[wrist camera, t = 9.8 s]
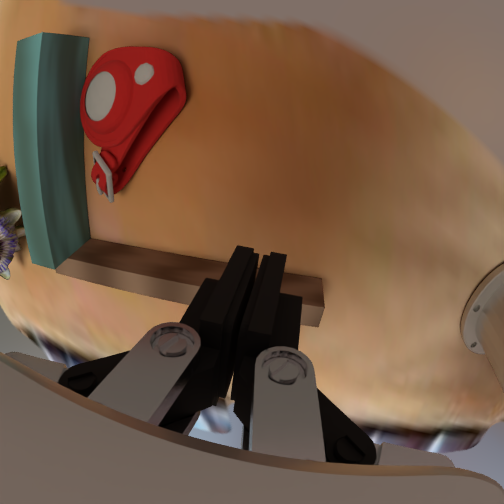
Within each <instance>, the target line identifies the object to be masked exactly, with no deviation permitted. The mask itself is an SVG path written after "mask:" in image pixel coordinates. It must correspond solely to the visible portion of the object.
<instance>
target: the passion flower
mask: <svg viewBox="0 0 504 504" xmlns="http://www.w3.org/2000/svg"><path fill="white" fill-rule="evenodd" d="M6 175H7V167H6V166H2V167H0V183H1V182H2V180H3V179H4V178H5V177H6ZM21 215H22V212H21V210H20V209H19V208H15V207H12V208H9V209H6V210H5V211H0V276H2V277H3V278H4V279H7V280H9V278H10V270H9V268H8V265H9V263H10V262H11V261H12V259H13V257H14V256H13V253H14V252H17V251H20V250H21V249H22V247H21V246H20V243H19V242H18V241H19V240H18V239H19V238H20V237H24V236H26V234H25V229H24V226H21V225H18V226H14V224H15V223H16V222H17V221H18V220H19V219H20V217H21Z"/></svg>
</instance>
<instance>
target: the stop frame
mask: <svg viewBox="0 0 504 504" xmlns="http://www.w3.org/2000/svg"><path fill="white" fill-rule="evenodd" d="M88 45H89V38H87V37H80V36H72V35H64V34H55V33H44V32H42V33H39V34H36V35H33V36H30V37H28V38H25V39H22V40H20V41H17V49H16V58H15V69H14V85H13V138H14V155H15V167H16V177H17V185H18V193H19V200H20V206H21V212H22V218H23V224H24V229H25V234H26V239H27V243H28V248H29V252H30V256H31V260H32V263H33V264H37V265H40V266H44V267H47V268H51V269H54V270H55V269H56V273H59V274H62V275H66V276H70V277H73V278H77V279H81V280H85V281H88V282H92V283H96V284H100V285H104V286H108V287H112V288H116V289H120V290H124V291H128V292H133V293H137V294H141V295H145V296H150V297H154V298H159V299H163V300H168V301H173V302H177V303H182V304H187V305H190V303H191V302H192V300H193V298H194V296H195V295H196V293H197V291H198V290H199V288H200V286H201V285H202V283H203V281H204V280H205V278H212V279H216V280H220V278H221V276H222V274H223V272H224V270H225V268H226V266H227V264H228V263H224V262H218V261H212V260H207V259H201V258H195V257H189V256H184V255H178V254H172V253H167V252H161V251H156V250H150V249H145V248H139V247H134V246H128V245H123V244H118V243H112V242H107V241H101V240H96V239H91V237H90V229H89V220H88V211H87V200H86V187H85V170H84V129H83V126H82V122H81V116H80V99H81V93H82V89H83V86H84V83H85V76H86V64H87V54H88ZM258 271H259V268H257V273H256V277H257V274H258ZM255 280H256V279H255ZM280 293H286V294H291V295H296V296H301V297H303V300H302V312H301V323H300V325H306V326H313V327H319V324H320V321H321V318H322V314H323V311H324V308H325V306H324V295H323V285H322V279H320V278H314V277H308V276H302V275H295V274H289V273H283V278H282V284H281V289H280Z"/></svg>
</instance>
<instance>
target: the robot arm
mask: <svg viewBox="0 0 504 504" xmlns="http://www.w3.org/2000/svg"><path fill="white" fill-rule="evenodd" d="M286 257H287V255H285V254H280V253H275V252H271V253H270V256H268V255H264V256H263V259H262V262H261V265H260V268H259V271H258V274H257V277H256V273H257V266H258V259H259V254H257V253H254V248H249V247H243V246H238V245H237V247H236V249H235V251H234V253H233V254H232V256H231V258H230V260H229V262H228V264H227V266H226V268H225V270H224V272H223V274H222V276H221V278H220V280H216V279H212V278H205V280H204V281H203V283H202V285H201V286H200V288H199V290H198V291H197V293H196V295H195V296H194V298H193V300H192V302H191V303H190V305H189V307H188V309H187V310H186V312H185V314H184V315H183V317H182V319H181V321H180V322H179V323H177V322H168V323H162V324H159V325H157V326H154V327H153V328H152V329H151V330H149V331H148V332H147V333H146V334H145V335H144V336H143V338H142V339H141V340H140V341H139V342H138V343H137V344H136V345H135V346H134V347H133V348H132V349H131V350H130V351H126V352H123V353H119V354H115V355H112V356H108V357H104V358H100V359H97V360H93V361H89V362H85V363H81V364H77V365H75V366H72V367H70V368H67V367H66V365H65V364H62V363H58V362H54V361H50V360H45V359H41V358H37V357H34V356H30V355H26V354H22V353H19V352H9V353H6V354H3V353H1V352H0V504H504V489H503V488H502V486H500V484H498V483H497V482H496V481H495V480H493V479H491V478H489V477H487V476H485V475H483V474H479V473H476V472H472V471H469V470H465V469H460V468H455V466H454V464H453V463H452V461H451V460H450V459H449V458H447V457H446V456H444V455H441V454H437V453H432V452H427V451H421V450H416V449H412V448H407V447H402V446H398V445H394V444H390V443H385V442H383V443H382V444H381V445H379V444H375V443H373V441H372V440H371V439H370V437H369V436H368V435H367V434H366V433H365V432H363V431H362V430H361V429H360V428H359V427H358V426H357V425H356V424H355V423H354V422H353V421H351V420H350V419H349V418H348V417H347V416H346V415H345V414H344V413H343V412H342V411H341V410H340V409H339V408H338V407H336V406H335V405H334V404H333V403H332V402H331V401H330V400H329V399H328V398H327V397H326V396H325V395H324V394H323V393H322V392H321V391H320V390H319V389H318V388H317V386H316V379H315V372H314V367H313V364H312V362H311V361H310V359H309V358H308V357H307V356H306V355H305V354H303V353H302V352H301V351H298V344H299V334H300V323H301V312H302V300H303V297H301V296H296V295H291V294H286V293H280V289H281V284H282V278H283V273H284V268H285V262H286ZM255 279H256V280H255ZM461 335H462V339H463V341H464V343H465V345H466V346H467V348H468V349H469V350H470V351H472V352H474V353H477V354H486V356H487V358H488V360H489V362H490V364H491V366H492V368H493V370H494V373H495V375H496V377H497V379H498V381H499V383H500V386H501V388H502V390H503V393H504V263H503V264H502V265H501V266H499V267H498V268H496V269H495V270H494V271H493V272H492V273H490V274H489V275H488V276H487V277H486V278H485V279H484V280H483V282H482V283H481V284H480V285H479V286H478V288H477V289H476V290H475V292H474V293H473V295H472V296H471V298H470V300H469V302H468V303H467V305H466V308H465V310H464V313H463V316H462V321H461ZM233 373H234V375H233ZM232 376H233V383H232V391H231V400H234V401H235V404H234V411H233V412H234V413H235V414H236V415H237V417H238V418H239V419H240V421H241V422H242V423H243V427H242V439H241V449H238V448H233V447H229V446H225V445H221V444H217V443H212V442H209V441H205V440H201V439H197V438H194V437H191V436H188V435H189V433H190V431H191V430H192V428H193V426H194V425H195V423H196V421H197V420H198V418H199V415H200V411H201V410H203V409H206V408H208V407H211V406H212V405H214V406H216V405H217V402H218V399H219V397H222V398H225V397H226V395H227V392H228V389H229V385H230V382H231V379H232Z"/></svg>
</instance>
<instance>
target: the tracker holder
mask: <svg viewBox="0 0 504 504" xmlns="http://www.w3.org/2000/svg"><path fill="white" fill-rule="evenodd" d="M186 96H187V95H186V89H185V83H184V76H183V70H182V66H181V64H180V62H179V60H178V59H177V58H176V57H174V56H173V55H172V54H171V53H169V52H167V51H165V50H162V49H158V48H153V47H131V46H129V47H120V48H116V49H113V50H110V51H108V52H106V53H104V54H103V55H102V56H101V57H100V58H99V59H98V60H97V61H96V62H95V64H94V65H93V66H92V68H91V70H90V72H89V73H88V76H87V78H86V80H85V83H84V86H83V89H82V93H81V99H80V116H81V122H82V126H83V129H84V131H85V133H86V135H87V137H88V138H89V139H90V140H91V142H92V143H94V144H95V145H97V146H99V147H102V149H101V153H100V154H99V153H98V152H97V151H94V152H93V160H94V166H93V169H92V173H91V177H92V180H93V182H94V183H95V184H96V186H97V191H98V193H99V194H100V195H102V194H103V192H104V194H105V195H106V197H107V198H108V200H109V201H110V202H114V194H116V193H117V192H119V191H120V190H122V189H123V187H124V186H125V185H126V184H127V183H128V182H129V180H130V179H131V177H132V176H133V174H134V173H135V171H136V170H137V168H138V167H139V165H140V164H141V162H142V161H143V159H144V157H145V156H146V155H147V153H148V152H149V151H150V149H151V148H152V147H153V145H154V144H155V143H156V141H157V140H158V139H159V137H160V136H161V135H162V134H163V132H164V131H165V130H166V128H167V127H168V126H169V125H170V123H171V122H172V121H173V120H174V119H175V117H176V116H177V115H178V114H179V112H180V111H181V110H182V108H183V107H184V104H185V102H186ZM125 169H126V171H125ZM102 191H103V192H102Z"/></svg>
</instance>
